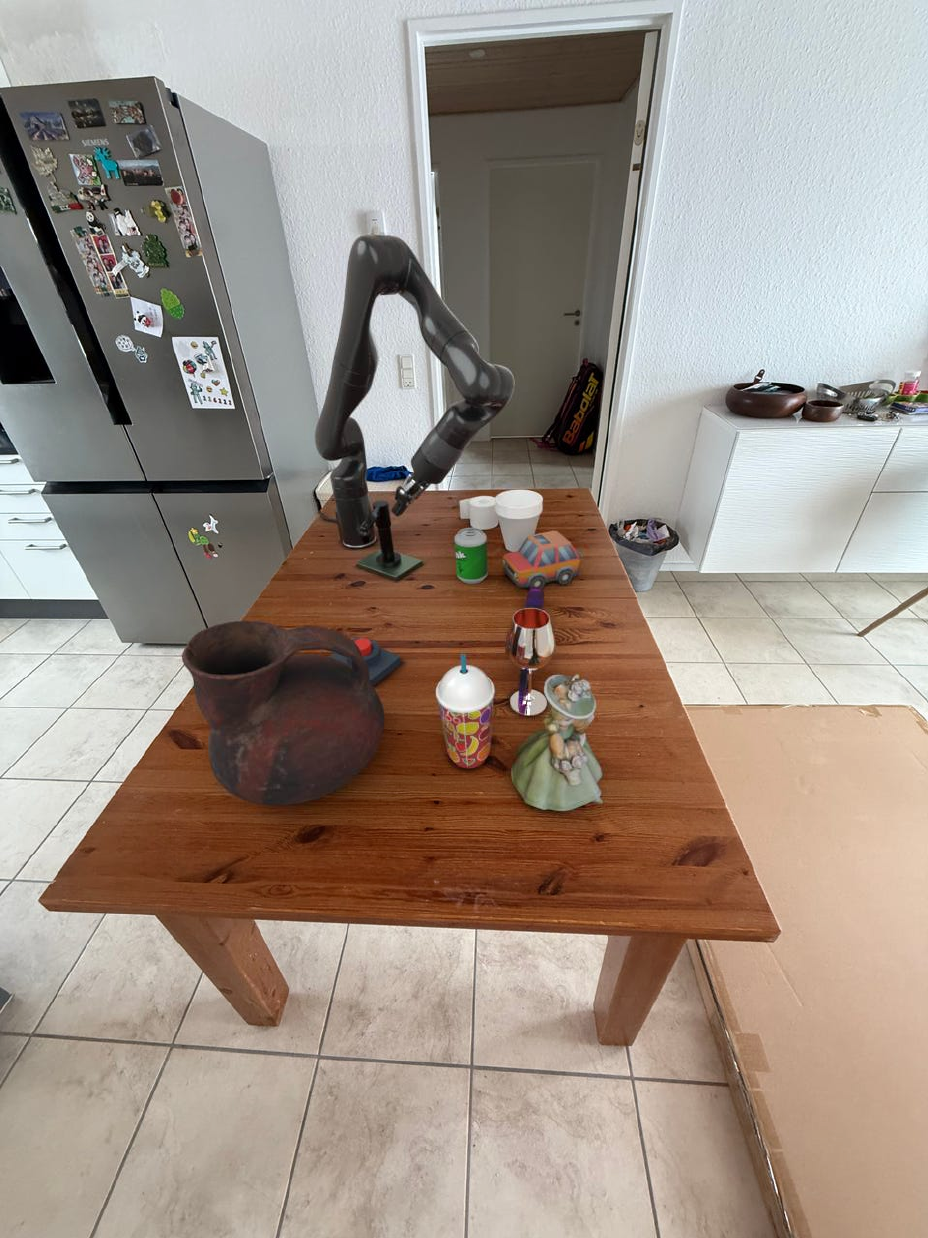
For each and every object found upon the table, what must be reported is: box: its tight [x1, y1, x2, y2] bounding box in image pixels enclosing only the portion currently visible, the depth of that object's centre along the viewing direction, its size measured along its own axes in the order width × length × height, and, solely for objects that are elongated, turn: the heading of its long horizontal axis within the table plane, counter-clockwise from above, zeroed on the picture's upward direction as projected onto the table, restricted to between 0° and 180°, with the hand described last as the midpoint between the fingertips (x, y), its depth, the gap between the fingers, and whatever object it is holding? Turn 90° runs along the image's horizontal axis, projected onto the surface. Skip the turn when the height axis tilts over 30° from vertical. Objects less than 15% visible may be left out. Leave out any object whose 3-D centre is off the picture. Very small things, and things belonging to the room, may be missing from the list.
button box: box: [328, 636, 402, 688], centre depth 99 cm, size 12×8×4 cm, turn 54°
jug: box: [181, 620, 385, 807], centre depth 73 cm, size 25×25×25 cm
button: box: [354, 638, 372, 657], centre depth 97 cm, size 4×4×2 cm
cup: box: [494, 489, 544, 553], centre depth 133 cm, size 12×12×14 cm
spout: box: [360, 500, 392, 544], centre depth 119 cm, size 15×4×6 cm, turn 170°
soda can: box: [454, 527, 489, 585], centre depth 121 cm, size 8×8×12 cm
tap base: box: [355, 526, 423, 582], centre depth 129 cm, size 14×10×11 cm
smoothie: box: [435, 653, 496, 769], centre depth 74 cm, size 8×8×20 cm
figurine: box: [510, 673, 604, 812], centre depth 69 cm, size 14×14×20 cm
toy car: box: [502, 530, 584, 590], centre depth 121 cm, size 12×17×10 cm
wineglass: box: [504, 607, 557, 717], centre depth 84 cm, size 8×8×18 cm
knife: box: [518, 587, 545, 709], centre depth 98 cm, size 37×4×5 cm, turn 169°
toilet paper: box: [458, 495, 499, 531], centre depth 148 cm, size 8×11×7 cm
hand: (395, 513), depth 111 cm, fingers closed
